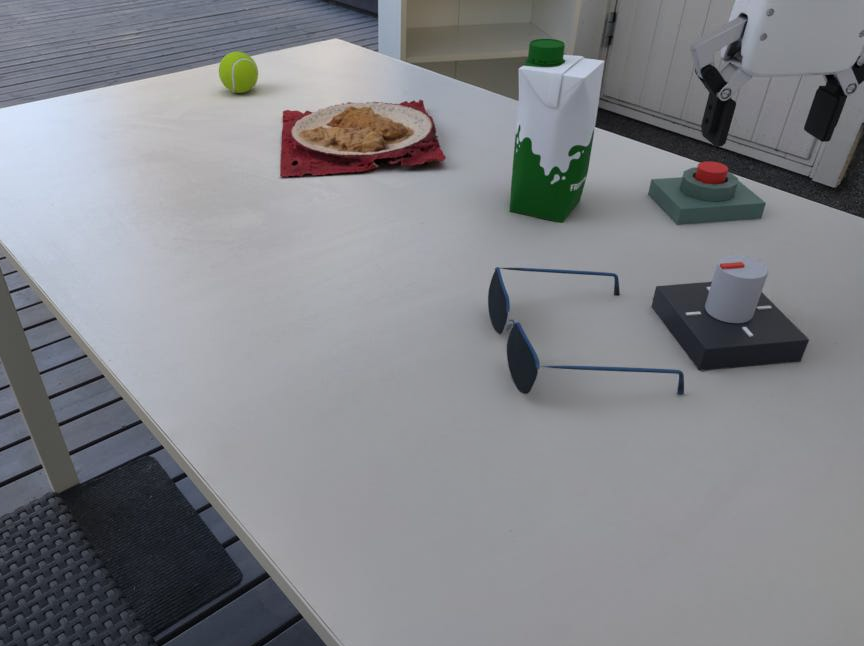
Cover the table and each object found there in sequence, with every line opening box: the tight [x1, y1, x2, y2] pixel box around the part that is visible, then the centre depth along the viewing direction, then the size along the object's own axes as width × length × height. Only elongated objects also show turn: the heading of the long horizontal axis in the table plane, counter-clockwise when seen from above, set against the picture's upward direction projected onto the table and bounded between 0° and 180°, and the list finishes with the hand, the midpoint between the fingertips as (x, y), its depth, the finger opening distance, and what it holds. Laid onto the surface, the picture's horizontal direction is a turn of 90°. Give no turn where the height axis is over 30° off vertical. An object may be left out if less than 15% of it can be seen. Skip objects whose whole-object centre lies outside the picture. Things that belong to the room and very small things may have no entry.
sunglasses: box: [487, 266, 685, 395], centre depth 71 cm, size 17×15×5 cm
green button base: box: [647, 166, 767, 226], centre depth 95 cm, size 11×9×4 cm
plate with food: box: [279, 98, 447, 178], centre depth 115 cm, size 24×26×3 cm
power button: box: [695, 161, 729, 184], centre depth 93 cm, size 4×4×2 cm
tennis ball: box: [218, 51, 259, 94], centre depth 134 cm, size 7×7×7 cm
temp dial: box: [705, 254, 769, 323], centre depth 70 cm, size 4×4×5 cm
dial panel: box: [650, 281, 810, 371], centre depth 73 cm, size 10×11×3 cm
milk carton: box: [509, 38, 606, 224], centre depth 91 cm, size 9×9×20 cm
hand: (764, 138), depth 66 cm, fingers open, 9 cm apart
